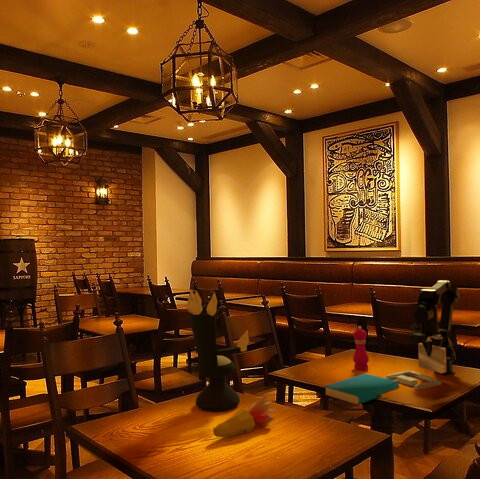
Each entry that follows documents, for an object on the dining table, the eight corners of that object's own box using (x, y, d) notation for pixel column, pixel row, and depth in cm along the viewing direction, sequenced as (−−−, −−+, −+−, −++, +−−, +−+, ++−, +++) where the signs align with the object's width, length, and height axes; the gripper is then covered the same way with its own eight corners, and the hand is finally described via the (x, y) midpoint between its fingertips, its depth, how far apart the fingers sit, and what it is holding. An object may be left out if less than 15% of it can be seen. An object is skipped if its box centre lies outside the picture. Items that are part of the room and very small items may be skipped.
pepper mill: (371, 367, 228) (369, 325, 228) (366, 371, 222) (364, 327, 222) (356, 365, 232) (354, 324, 232) (351, 369, 226) (349, 326, 226)
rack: (409, 377, 210) (409, 370, 210) (441, 387, 194) (441, 380, 194) (386, 382, 204) (386, 375, 204) (417, 393, 189) (416, 385, 189)
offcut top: (402, 379, 202) (402, 375, 202) (417, 384, 195) (417, 379, 195) (396, 381, 201) (396, 376, 201) (411, 386, 194) (411, 381, 194)
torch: (215, 452, 151) (271, 420, 168) (228, 447, 146) (284, 415, 162) (204, 427, 154) (260, 397, 170) (216, 421, 148) (273, 391, 165)
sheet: (424, 365, 210) (423, 342, 210) (446, 372, 199) (445, 348, 199) (419, 366, 209) (418, 343, 209) (441, 373, 198) (440, 349, 198)
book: (324, 385, 192) (364, 372, 207) (324, 396, 192) (364, 382, 207) (359, 395, 178) (399, 380, 194) (359, 407, 178) (399, 391, 194)
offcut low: (401, 384, 203) (401, 379, 203) (419, 390, 194) (419, 385, 194) (394, 385, 202) (394, 380, 202) (412, 392, 192) (412, 387, 192)
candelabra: (252, 402, 186) (248, 285, 186) (218, 421, 167) (214, 291, 167) (213, 394, 196) (209, 284, 196) (177, 412, 177) (172, 289, 177)
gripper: (431, 314, 215) (433, 349, 215) (399, 318, 207) (401, 355, 208) (452, 317, 205) (453, 354, 205) (419, 322, 197) (421, 360, 197)
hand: (431, 355), depth 204 cm, fingers closed on sheet, 3 cm apart
